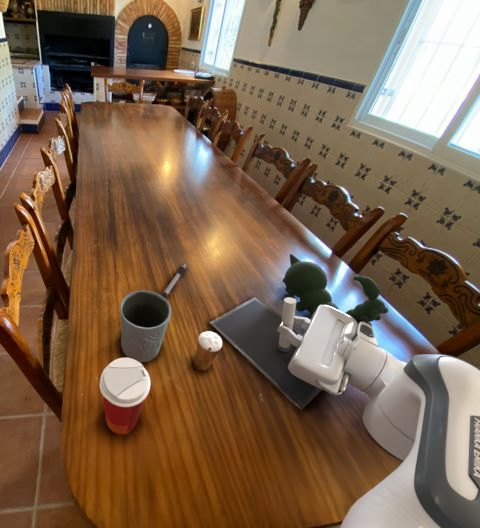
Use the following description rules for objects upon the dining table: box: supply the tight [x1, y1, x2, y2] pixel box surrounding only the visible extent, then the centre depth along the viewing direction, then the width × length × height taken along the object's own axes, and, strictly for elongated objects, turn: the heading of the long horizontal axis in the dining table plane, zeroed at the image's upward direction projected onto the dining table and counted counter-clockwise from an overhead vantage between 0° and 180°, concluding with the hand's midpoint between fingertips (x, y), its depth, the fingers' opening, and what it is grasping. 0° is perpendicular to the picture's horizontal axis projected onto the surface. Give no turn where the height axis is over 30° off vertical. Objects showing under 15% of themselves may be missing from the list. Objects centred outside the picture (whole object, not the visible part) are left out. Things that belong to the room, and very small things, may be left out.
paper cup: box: [98, 357, 151, 435], centre depth 49 cm, size 8×8×14 cm
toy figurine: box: [282, 253, 389, 328], centre depth 71 cm, size 9×19×25 cm
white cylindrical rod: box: [278, 297, 297, 352], centre depth 63 cm, size 2×2×13 cm
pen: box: [161, 263, 187, 299], centre depth 82 cm, size 1×16×1 cm, turn 150°
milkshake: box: [193, 330, 223, 372], centre depth 59 cm, size 4×5×10 cm
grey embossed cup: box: [119, 290, 172, 363], centre depth 62 cm, size 10×10×12 cm
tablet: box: [208, 296, 324, 412], centre depth 67 cm, size 24×17×1 cm
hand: (282, 321), depth 63 cm, fingers closed on white cylindrical rod, 2 cm apart
